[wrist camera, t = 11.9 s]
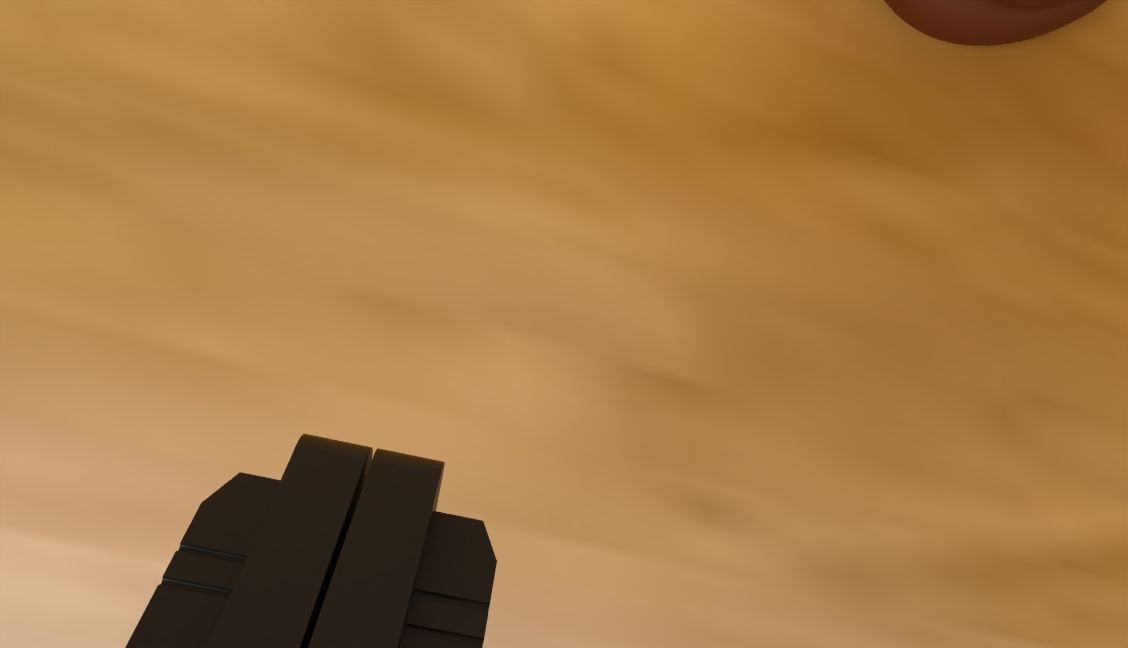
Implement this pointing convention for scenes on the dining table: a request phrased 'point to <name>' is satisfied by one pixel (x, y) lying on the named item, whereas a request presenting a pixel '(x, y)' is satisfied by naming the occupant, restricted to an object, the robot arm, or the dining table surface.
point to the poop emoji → (990, 18)
